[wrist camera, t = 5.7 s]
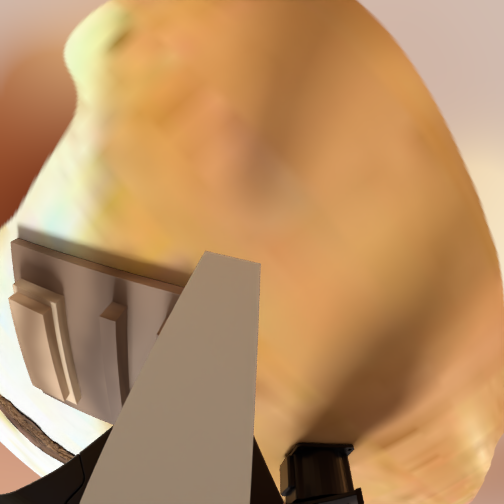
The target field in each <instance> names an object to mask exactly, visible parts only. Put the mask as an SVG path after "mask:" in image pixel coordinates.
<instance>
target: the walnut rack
mask: <svg viewBox="0 0 504 504" xmlns="http://www.w3.org/2000/svg"><path fill="white" fill-rule="evenodd" d="M11 252H12V262H13V271H14V278H15V282H17V281H18V280H20V279H24V280H26V281H28V282H31V283H33V284H35V285H38V286H40V287H43V288H45V289H47V290H50V291H52V292H55V293H57V294H60V295H63V296H64V300H65V309H66V318H67V325H68V332H69V339H70V345H71V350H72V356H73V361H74V366H75V371H76V375H77V380H78V384H79V388H80V392H81V396H82V397H81V399H80V400H79V402H78V404H77V405H76V404H74V403H72V402H70V401H68V400H65V402H64V401H62V400H60V399H58V398H56V397H54V396H52V395H50V394H48V393H46V392H44V391H43V390H42V391H43V393H45V394H47V395H49V396H51V397H53V398H55V399H57V400H59V401H61V402H63V403H65V404H67V405H69V406H71V407H73V408H75V409H77V410H79V411H82V412H84V413H86V414H88V415H91V416H93V417H95V418H98V419H100V420H103V421H105V422H108V423H110V424H113V426H114V424H115V422H116V420H117V418H118V416H119V414H120V412H121V410H122V407H123V405H124V403H125V401H126V399H127V397H128V395H129V393H130V391H131V389H132V387H133V385H134V383H135V381H136V379H137V377H138V375H139V373H140V371H141V369H142V367H143V365H144V363H145V361H146V359H147V357H148V355H149V353H150V351H151V350H152V348H153V346H154V344H155V342H156V340H157V338H158V336H159V334H160V332H161V330H162V328H163V327H164V325H165V323H166V321H167V319H168V317H169V315H170V313H171V312H172V310H173V308H174V306H175V304H176V302H177V301H178V299H179V297H180V295H181V293H182V291H183V290H184V287H180V286H176V285H173V284H169V283H165V282H161V281H157V280H154V279H150V278H146V277H142V276H139V275H135V274H132V273H128V272H125V271H121V270H117V269H114V268H111V267H107V266H104V265H100V264H97V263H94V262H90V261H87V260H84V259H80V258H77V257H74V256H71V255H68V254H64V253H61V252H58V251H55V250H52V249H49V248H46V247H43V246H40V245H37V244H34V243H31V242H28V241H25V240H22V239H19V238H17V239H15V240H13V241H12V242H11Z"/></svg>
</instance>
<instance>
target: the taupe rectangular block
mask: <svg viewBox="0 0 504 504" xmlns="http://www.w3.org/2000/svg"><path fill="white" fill-rule="evenodd" d="M260 268H261V264H260V263H255V262H251V261H247V260H243V259H238V258H234V257H230V256H225V255H221V254H217V253H213V252H208V251H205V252H204V254H203V256H202V257H201V259H200V261H199V263H198V264H197V266H196V268H195V270H194V272H193V273H192V275H191V277H190V279H189V281H188V282H187V284H186V286H185V288H184V290H183V291H182V293H181V295H180V297H179V299H178V301H177V302H176V304H175V306H174V308H173V310H172V312H171V313H170V315H169V317H168V319H167V321H166V323H165V325H164V327H163V328H162V330H161V332H160V334H159V336H158V338H157V340H156V342H155V344H154V346H153V348H152V350H151V351H150V353H149V355H148V357H147V359H146V361H145V363H144V365H143V367H142V369H141V371H140V373H139V375H138V377H137V379H136V381H135V383H134V385H133V387H132V389H131V391H130V393H129V395H128V397H127V399H126V401H125V403H124V405H123V407H122V410H121V412H120V414H119V416H118V418H117V420H116V422H115V424H114V426H113V429H112V431H111V433H110V435H109V437H108V439H107V441H106V444H105V446H104V448H103V450H102V452H101V455H100V457H99V459H98V461H97V464H96V466H95V468H94V470H93V473H92V475H91V477H90V480H89V482H88V484H87V487H86V489H85V492H84V494H83V496H82V499H81V501H80V504H250V490H251V472H252V453H253V433H254V413H255V392H256V369H257V346H258V321H259V296H260Z"/></svg>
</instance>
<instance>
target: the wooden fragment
mask: <svg viewBox="0 0 504 504" xmlns="http://www.w3.org/2000/svg"><path fill="white" fill-rule="evenodd" d="M0 410H1V411H2V412H3V413H4V414H5V416H6V417H7V418H8V419H9V421H10V422H11V423H12V424H13V425H14V426H15V427H16V428H17V429H18V430H19V431H20V432H21V433H22V434H23V435H24V436H25V437H26V438H28V439H29V440H30V442H32V443H33V444H34V445H35V446H37V447H38V448H40V449H41V450H42V451H43V452H45V453H46V454H48V455H50V456H51V457H53V458H55V459H57V460H58V461H60V462H62V463H64V464H65V463H66V462H68V461H69V460H71V459H72V458H73V457H74V456H73V455H72V454H70V453H69V452H67V451H65V450H64V449H63V448H62V447H61V446H59V445H58V444H57V443H55V442H53V441H52V440H51V439H50V438H49V437H47V436H46V435H45V434H44V433H43V431H42V430H40V429H39V428H38V427H37V426H36V425H35V424H34V423H33V422H32V421H31V420H28V419H27V418H26V417H25V416H24V415H22V414H21V413H20V412H19V411H18V410H17V409H16V408H15V407H14V406H13V405H12V404H11V403H10V402H9V401H8V400H7V399H5V398H4V397H2V396H1V395H0Z"/></svg>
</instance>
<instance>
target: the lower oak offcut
mask: <svg viewBox="0 0 504 504" xmlns="http://www.w3.org/2000/svg"><path fill="white" fill-rule="evenodd" d="M13 290H14V294H15V293H16V292H19V293H21V294H23V295H25V296H28V297H30V298H32V299H34V300H36V301H39V302H41V303H43V304H45V305H48V306H50V307H52V314H53V320H54V326H55V332H56V338H57V343H58V348H59V353H60V357H61V362H62V366H63V370H64V374H65V378H66V382H67V385H68V389H69V392H70V394H69V396H68V397H67V399H66V400H68V401H70V402H72V403H74V404H76V405H77V404H78V402H79V400H80V399H81V397H82V396H81V392H80V388H79V384H78V380H77V375H76V371H75V366H74V361H73V356H72V350H71V345H70V339H69V332H68V325H67V318H66V309H65V300H64V296H63V295H60V294H57V293H55V292H52V291H50V290H47V289H45V288H43V287H40V286H38V285H35V284H33V283H31V282H28V281H26V280H24V279H20V280H18V281H17V282H15V283H14V284H13Z"/></svg>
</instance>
